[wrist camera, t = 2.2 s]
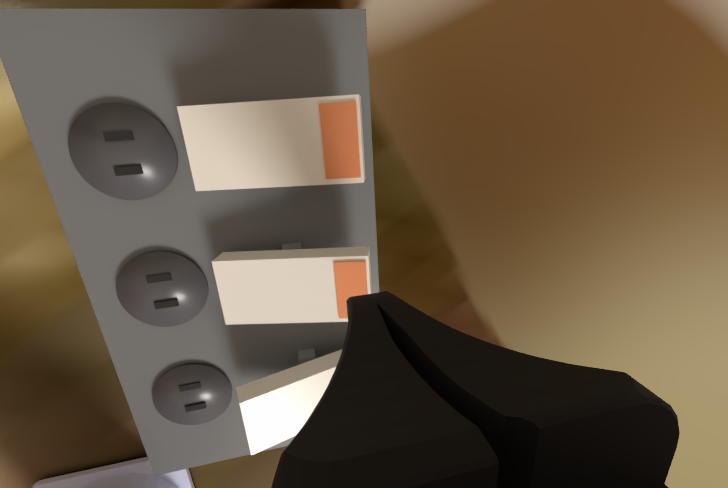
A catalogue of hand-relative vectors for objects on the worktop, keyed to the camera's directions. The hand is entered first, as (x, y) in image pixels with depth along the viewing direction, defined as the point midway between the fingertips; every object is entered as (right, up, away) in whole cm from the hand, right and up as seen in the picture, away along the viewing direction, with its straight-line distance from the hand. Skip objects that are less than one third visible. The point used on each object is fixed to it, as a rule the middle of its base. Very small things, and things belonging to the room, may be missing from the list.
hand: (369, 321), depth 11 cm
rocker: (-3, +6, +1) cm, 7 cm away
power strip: (-6, +2, +7) cm, 10 cm away
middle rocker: (-3, +1, +3) cm, 4 cm away
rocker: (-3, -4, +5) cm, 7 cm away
